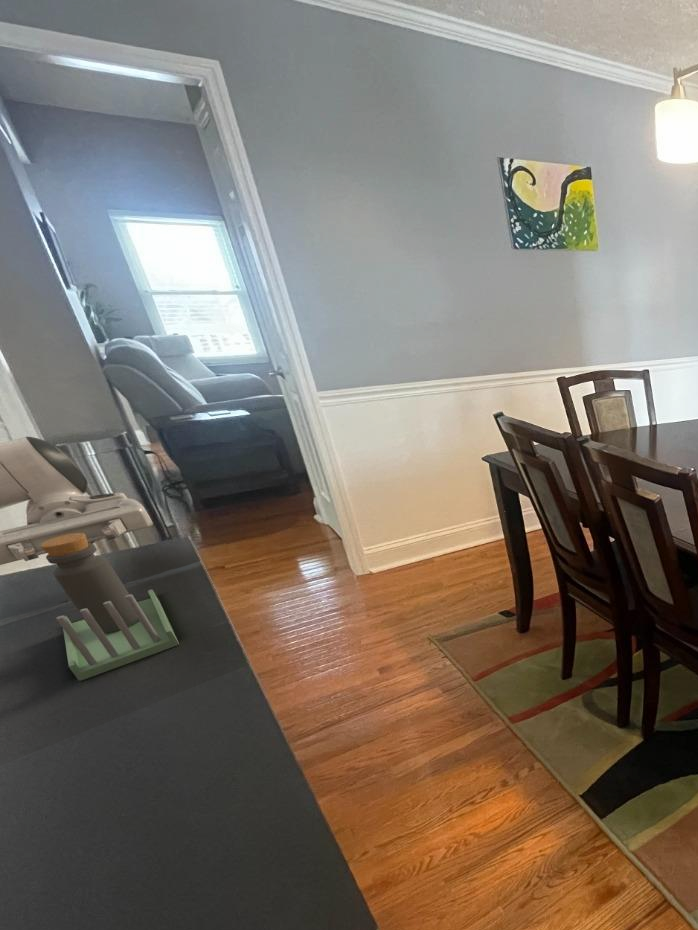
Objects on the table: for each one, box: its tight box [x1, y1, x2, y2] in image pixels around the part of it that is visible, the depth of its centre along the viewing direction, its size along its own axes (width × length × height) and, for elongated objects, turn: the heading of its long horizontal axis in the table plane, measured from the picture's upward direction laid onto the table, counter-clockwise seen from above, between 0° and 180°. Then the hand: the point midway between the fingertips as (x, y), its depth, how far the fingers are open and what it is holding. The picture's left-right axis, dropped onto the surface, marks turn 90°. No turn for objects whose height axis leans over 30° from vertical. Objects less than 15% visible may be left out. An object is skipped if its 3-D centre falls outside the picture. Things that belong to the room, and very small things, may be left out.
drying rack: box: [56, 589, 180, 682], centre depth 91 cm, size 11×20×9 cm, turn 48°
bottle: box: [40, 533, 140, 634], centre depth 91 cm, size 6×6×15 cm
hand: (71, 544), depth 95 cm, fingers open, 8 cm apart
